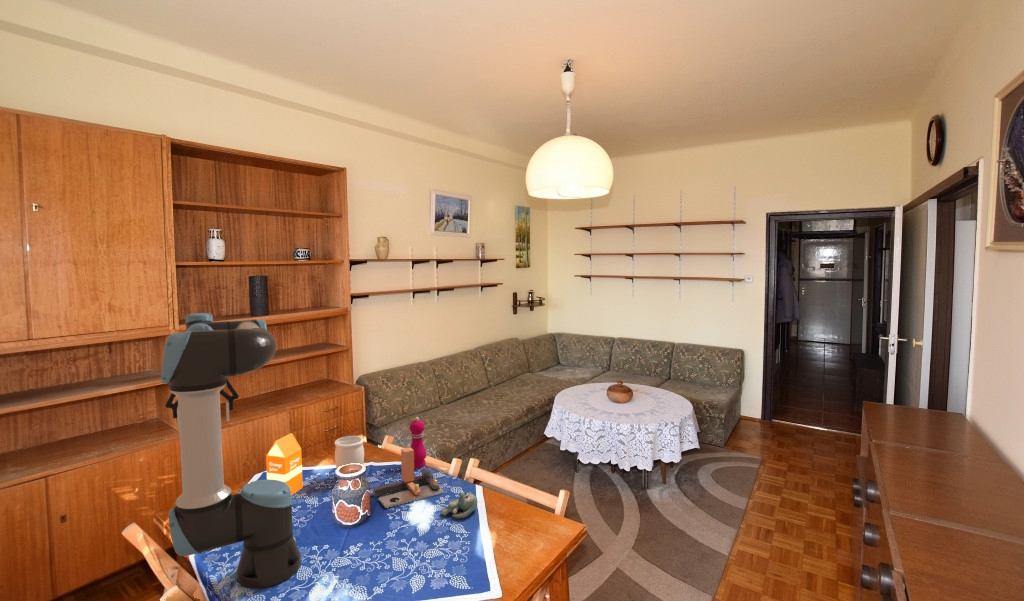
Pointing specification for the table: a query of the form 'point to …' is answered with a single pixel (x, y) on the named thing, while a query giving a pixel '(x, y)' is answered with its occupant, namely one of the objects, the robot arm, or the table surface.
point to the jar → (349, 450)
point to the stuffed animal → (461, 505)
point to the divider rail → (402, 485)
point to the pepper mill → (418, 443)
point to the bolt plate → (409, 496)
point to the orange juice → (285, 462)
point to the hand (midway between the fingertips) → (204, 423)
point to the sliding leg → (409, 469)
